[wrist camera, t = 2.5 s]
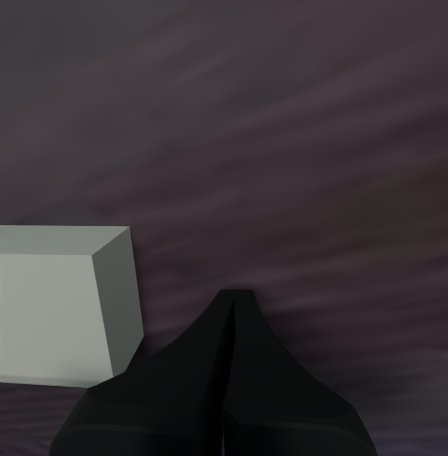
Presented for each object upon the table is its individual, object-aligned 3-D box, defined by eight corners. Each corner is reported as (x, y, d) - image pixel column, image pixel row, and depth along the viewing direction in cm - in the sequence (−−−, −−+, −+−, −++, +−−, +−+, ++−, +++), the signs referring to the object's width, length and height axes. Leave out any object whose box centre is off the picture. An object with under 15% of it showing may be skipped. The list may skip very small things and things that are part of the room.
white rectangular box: (145, 334, 15) (115, 389, 12) (5, 328, 16) (-58, 378, 13) (130, 225, 14) (91, 255, 10) (-26, 224, 14) (-110, 252, 11)
